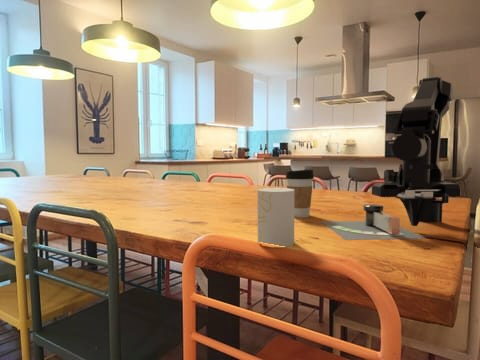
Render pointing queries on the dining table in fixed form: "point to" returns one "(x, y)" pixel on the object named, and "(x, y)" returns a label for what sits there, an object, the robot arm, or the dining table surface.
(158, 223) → the dining table surface
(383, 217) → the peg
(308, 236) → the dining table surface
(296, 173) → the coffee cup
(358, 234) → the dial board
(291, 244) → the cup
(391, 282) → the dining table surface
